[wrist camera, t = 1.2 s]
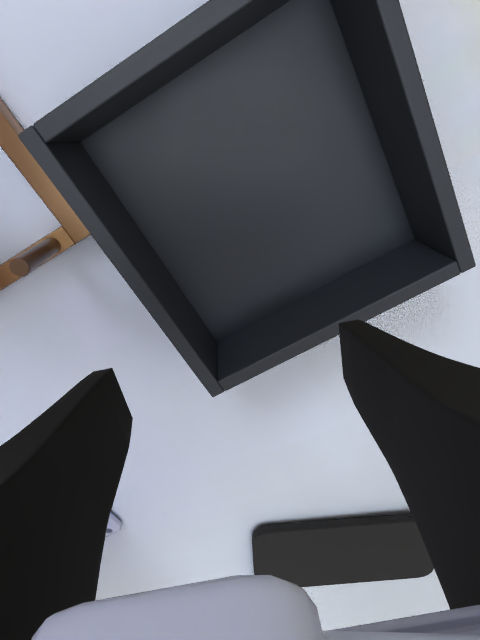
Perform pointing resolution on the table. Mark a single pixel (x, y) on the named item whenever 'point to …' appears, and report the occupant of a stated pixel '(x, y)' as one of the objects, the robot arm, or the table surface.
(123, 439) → the robot arm
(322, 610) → the table surface
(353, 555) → the phone
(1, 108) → the drying rack
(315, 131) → the tub
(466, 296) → the table surface
